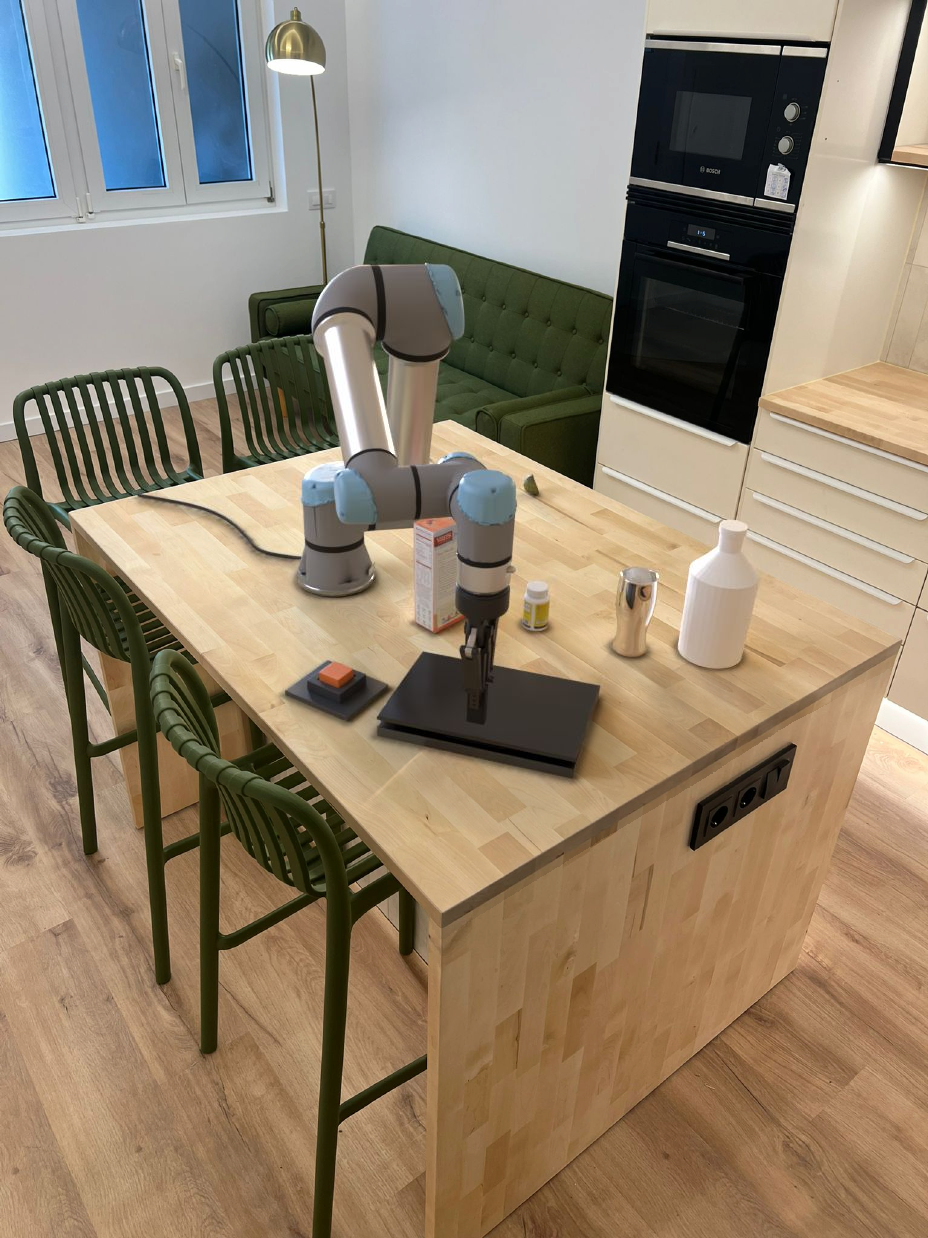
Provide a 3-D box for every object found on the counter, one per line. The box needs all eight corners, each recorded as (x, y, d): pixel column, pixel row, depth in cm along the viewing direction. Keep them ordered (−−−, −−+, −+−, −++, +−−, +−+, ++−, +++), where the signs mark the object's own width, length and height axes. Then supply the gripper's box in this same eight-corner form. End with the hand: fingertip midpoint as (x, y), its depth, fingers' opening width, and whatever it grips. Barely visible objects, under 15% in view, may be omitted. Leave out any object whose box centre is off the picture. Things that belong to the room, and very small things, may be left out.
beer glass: (606, 638, 172) (615, 565, 165) (643, 637, 173) (654, 565, 165) (614, 659, 166) (624, 585, 159) (652, 658, 167) (664, 584, 159)
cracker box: (465, 597, 184) (468, 499, 173) (487, 609, 180) (492, 509, 169) (411, 622, 175) (412, 520, 165) (433, 635, 172) (435, 531, 161)
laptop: (573, 779, 138) (574, 769, 137) (376, 736, 146) (376, 726, 145) (598, 698, 156) (599, 689, 155) (422, 663, 163) (422, 654, 162)
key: (319, 681, 153) (318, 672, 153) (334, 669, 156) (334, 661, 156) (338, 689, 152) (338, 680, 151) (353, 677, 155) (353, 668, 154)
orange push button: (285, 695, 154) (283, 680, 153) (327, 664, 162) (327, 650, 161) (347, 722, 148) (347, 707, 147) (388, 689, 157) (388, 674, 155)
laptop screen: (575, 763, 137) (575, 758, 136) (376, 720, 144) (376, 716, 144) (599, 689, 155) (600, 685, 155) (422, 655, 162) (422, 651, 162)
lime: (531, 488, 231) (532, 469, 229) (545, 494, 228) (546, 475, 226) (518, 493, 229) (519, 473, 226) (532, 499, 226) (534, 480, 223)
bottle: (756, 664, 166) (784, 537, 153) (696, 673, 163) (720, 544, 150) (722, 630, 176) (746, 507, 163) (664, 638, 173) (685, 514, 160)
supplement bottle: (550, 621, 177) (553, 582, 173) (543, 634, 173) (547, 594, 169) (525, 616, 178) (528, 577, 174) (518, 629, 174) (521, 589, 170)
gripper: (496, 611, 122) (488, 752, 135) (521, 566, 133) (511, 701, 145) (442, 601, 124) (438, 741, 136) (470, 557, 135) (465, 691, 147)
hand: (476, 720), depth 141 cm, fingers closed
